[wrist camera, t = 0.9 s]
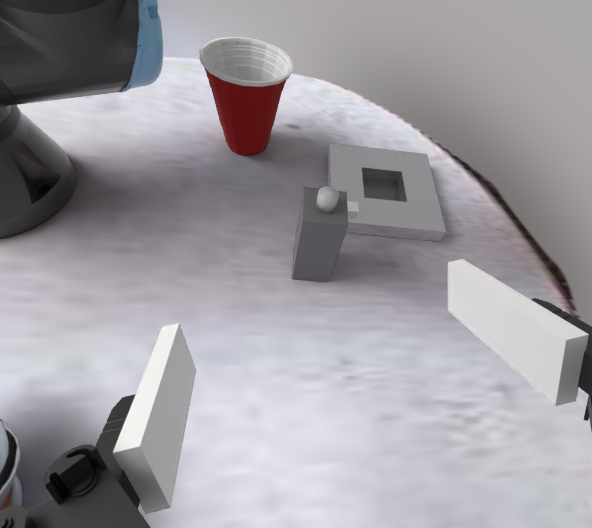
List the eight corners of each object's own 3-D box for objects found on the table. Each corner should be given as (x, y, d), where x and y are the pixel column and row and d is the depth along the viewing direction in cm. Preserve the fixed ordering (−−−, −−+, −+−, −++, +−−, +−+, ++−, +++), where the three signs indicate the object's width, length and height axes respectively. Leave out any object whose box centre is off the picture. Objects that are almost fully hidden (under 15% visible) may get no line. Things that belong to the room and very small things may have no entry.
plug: (291, 279, 38) (304, 209, 28) (293, 249, 40) (306, 175, 30) (327, 282, 38) (352, 213, 28) (327, 252, 40) (350, 179, 31)
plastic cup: (301, 147, 50) (313, 62, 40) (243, 179, 45) (240, 92, 35) (253, 110, 53) (253, 23, 43) (194, 136, 49) (179, 46, 39)
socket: (328, 230, 42) (332, 217, 40) (327, 154, 50) (330, 139, 47) (438, 241, 43) (448, 228, 41) (421, 165, 50) (428, 150, 48)
